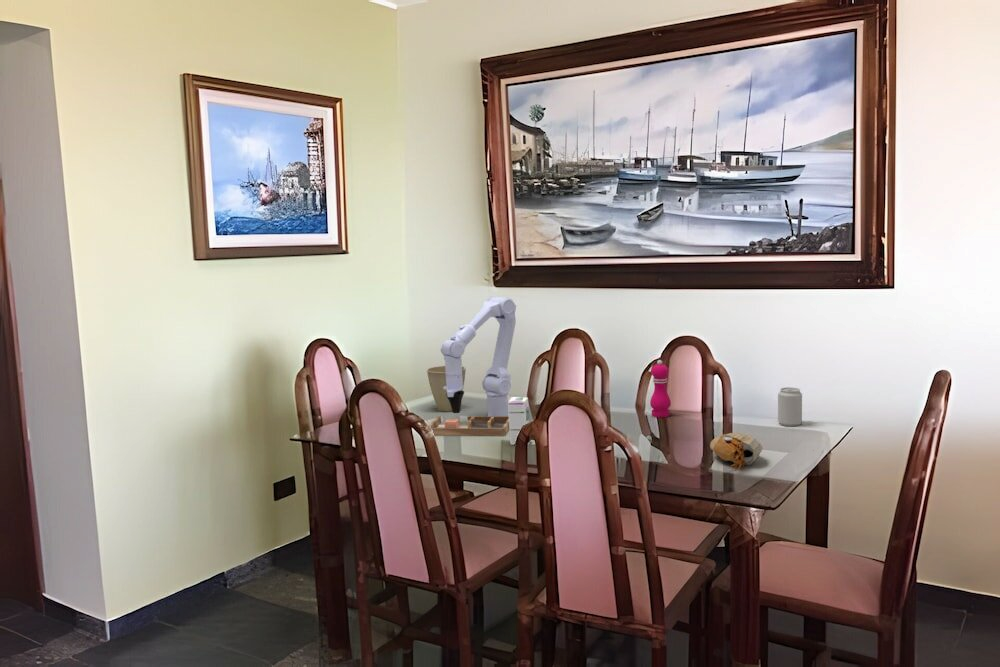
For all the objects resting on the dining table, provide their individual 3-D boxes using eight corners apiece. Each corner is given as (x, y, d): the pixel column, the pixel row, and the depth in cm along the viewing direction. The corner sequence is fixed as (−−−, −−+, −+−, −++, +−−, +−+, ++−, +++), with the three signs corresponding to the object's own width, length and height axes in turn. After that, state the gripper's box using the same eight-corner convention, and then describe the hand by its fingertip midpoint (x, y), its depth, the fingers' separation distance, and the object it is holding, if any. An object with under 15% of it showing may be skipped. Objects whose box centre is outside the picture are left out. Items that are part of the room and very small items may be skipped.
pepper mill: (671, 417, 282) (670, 361, 279) (650, 418, 283) (649, 362, 281) (670, 412, 289) (669, 358, 286) (650, 413, 290) (649, 358, 288)
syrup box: (527, 445, 257) (525, 400, 255) (509, 444, 258) (507, 400, 256) (530, 440, 262) (528, 396, 260) (512, 440, 263) (510, 396, 261)
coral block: (448, 430, 277) (447, 419, 276) (459, 430, 276) (458, 419, 276) (445, 433, 273) (444, 421, 272) (456, 433, 272) (455, 422, 272)
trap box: (438, 424, 288) (438, 416, 288) (513, 424, 283) (512, 416, 283) (426, 437, 271) (425, 428, 271) (504, 437, 266) (504, 428, 266)
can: (778, 426, 265) (778, 391, 263) (777, 420, 272) (777, 386, 270) (802, 427, 263) (802, 391, 261) (801, 421, 270) (801, 386, 268)
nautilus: (757, 479, 216) (700, 476, 223) (767, 452, 235) (715, 450, 242) (755, 451, 215) (698, 449, 221) (765, 426, 234) (713, 425, 240)
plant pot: (466, 413, 302) (463, 371, 300) (426, 414, 303) (424, 373, 301) (469, 404, 317) (467, 364, 315) (431, 405, 318) (429, 365, 316)
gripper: (447, 370, 286) (450, 407, 288) (437, 378, 272) (440, 418, 274) (467, 370, 285) (469, 407, 287) (457, 378, 271) (460, 417, 273)
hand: (456, 412), depth 280 cm, fingers closed
